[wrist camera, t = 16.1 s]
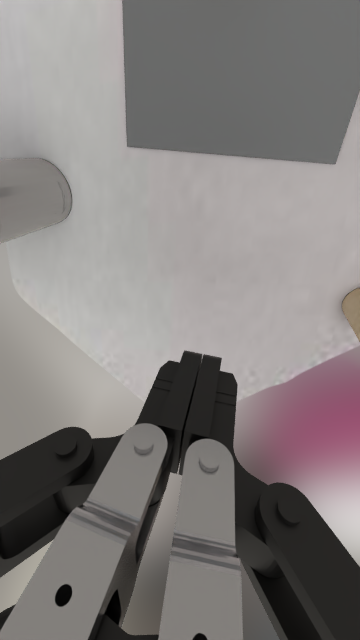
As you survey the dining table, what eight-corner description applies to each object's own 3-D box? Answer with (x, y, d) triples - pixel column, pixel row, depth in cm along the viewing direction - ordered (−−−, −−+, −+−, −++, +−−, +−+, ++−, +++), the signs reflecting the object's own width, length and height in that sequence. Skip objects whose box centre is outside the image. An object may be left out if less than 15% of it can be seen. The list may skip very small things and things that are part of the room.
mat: (128, 146, 36) (126, 146, 36) (118, -186, 23) (116, -191, 23) (334, 164, 32) (335, 164, 32) (463, -227, 19) (466, -234, 19)
